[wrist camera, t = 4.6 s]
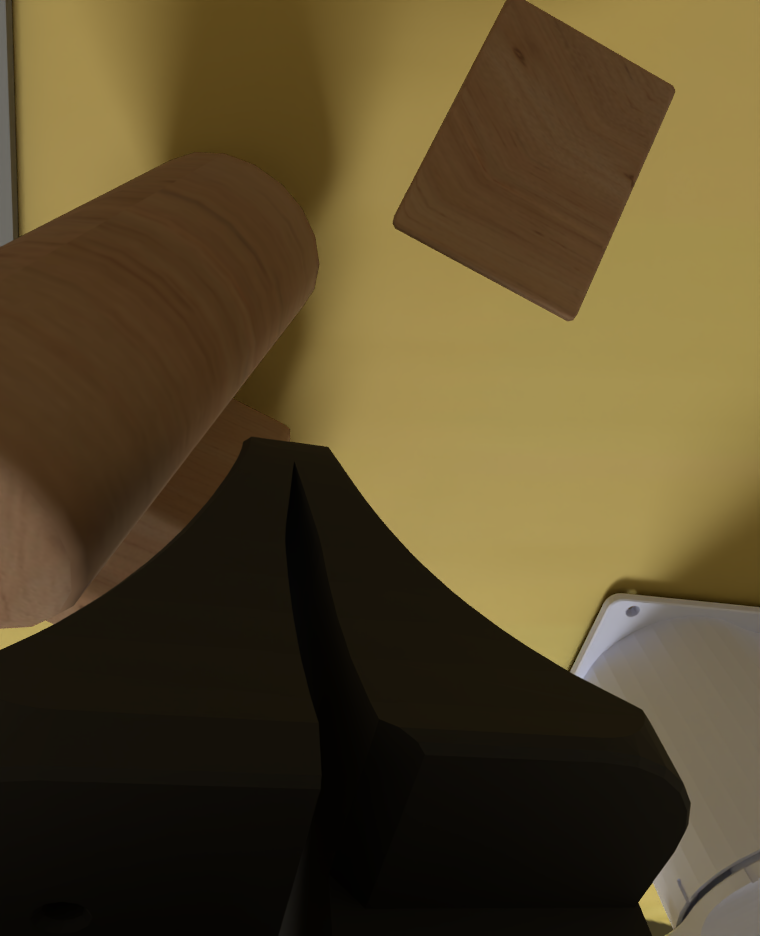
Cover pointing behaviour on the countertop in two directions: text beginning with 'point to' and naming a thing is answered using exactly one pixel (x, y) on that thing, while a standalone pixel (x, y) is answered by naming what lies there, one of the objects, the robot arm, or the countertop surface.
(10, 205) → the mat
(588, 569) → the countertop surface
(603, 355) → the countertop surface
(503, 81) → the wooden block set
